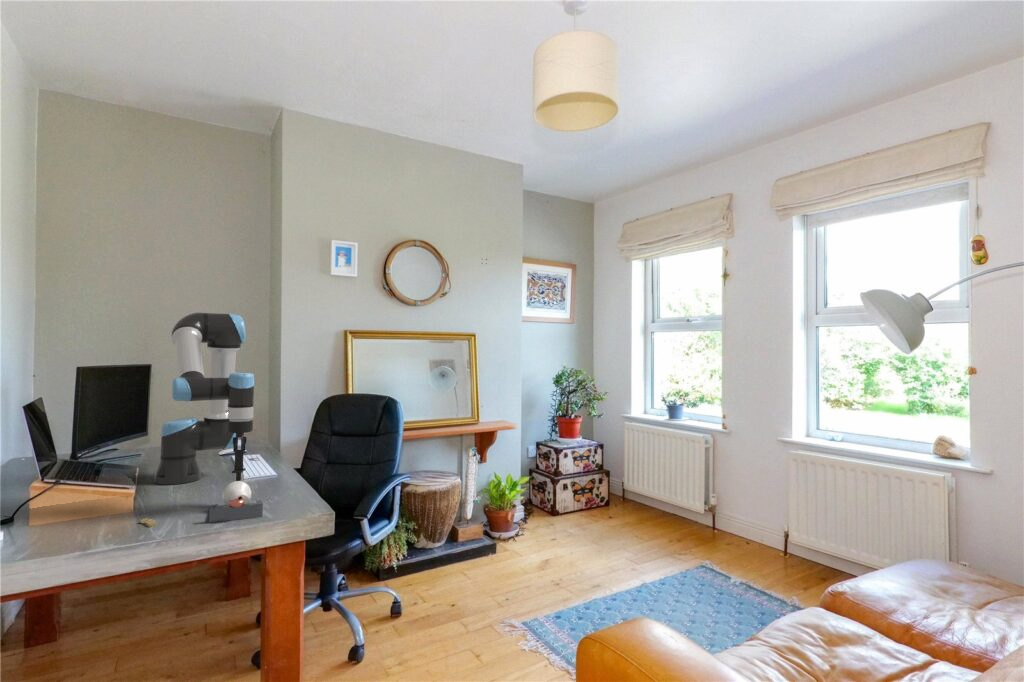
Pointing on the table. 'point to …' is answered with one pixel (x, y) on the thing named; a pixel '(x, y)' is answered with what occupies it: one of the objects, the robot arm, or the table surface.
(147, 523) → the brass key
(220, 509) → the channel
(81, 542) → the table surface
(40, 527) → the table surface
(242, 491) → the spotlight
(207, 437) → the robot arm
